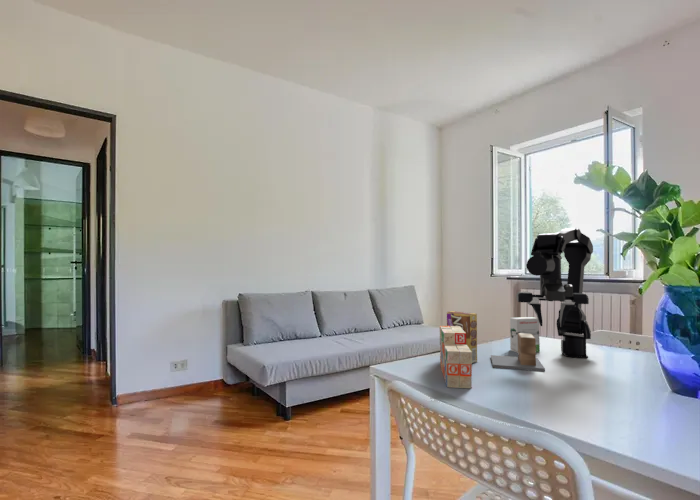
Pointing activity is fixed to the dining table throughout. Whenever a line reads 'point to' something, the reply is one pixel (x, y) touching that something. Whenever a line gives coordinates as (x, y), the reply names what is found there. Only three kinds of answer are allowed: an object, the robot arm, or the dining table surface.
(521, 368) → the rubber mat
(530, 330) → the ink box
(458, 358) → the stack of blocks
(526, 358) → the cream panel wooden box
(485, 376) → the dining table surface
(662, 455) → the dining table surface
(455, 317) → the candy box
